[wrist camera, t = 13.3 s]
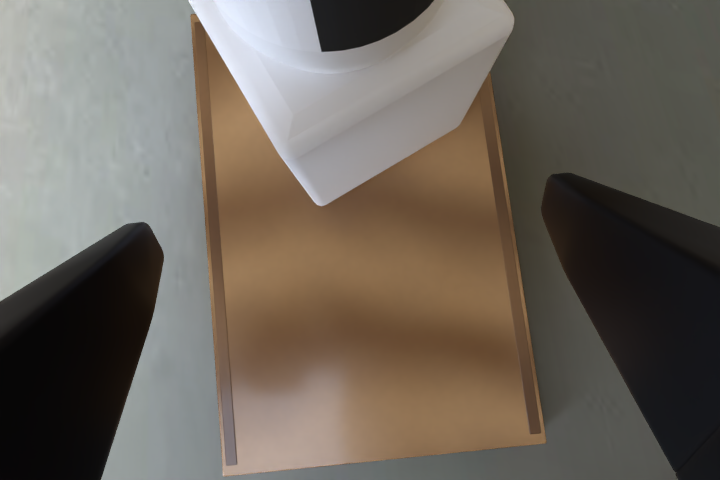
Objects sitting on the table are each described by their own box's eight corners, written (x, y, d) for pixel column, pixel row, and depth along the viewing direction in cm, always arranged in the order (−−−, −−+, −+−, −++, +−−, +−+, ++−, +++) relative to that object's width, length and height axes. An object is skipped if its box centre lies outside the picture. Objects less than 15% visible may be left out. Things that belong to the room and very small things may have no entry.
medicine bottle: (376, -5, 18) (385, -559, 6) (462, 126, 17) (660, -215, 5) (238, 75, 18) (-27, -337, 6) (319, 211, 17) (199, 49, 5)
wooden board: (537, 434, 17) (547, 443, 16) (231, 465, 17) (222, 477, 16) (470, -6, 19) (476, -23, 18) (199, 27, 19) (189, 13, 18)
